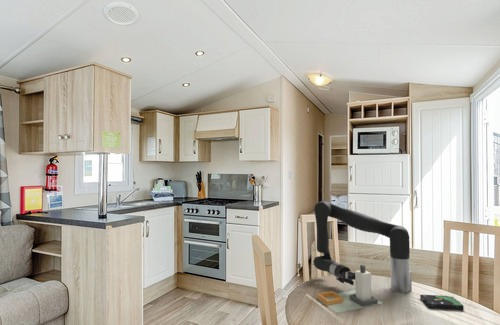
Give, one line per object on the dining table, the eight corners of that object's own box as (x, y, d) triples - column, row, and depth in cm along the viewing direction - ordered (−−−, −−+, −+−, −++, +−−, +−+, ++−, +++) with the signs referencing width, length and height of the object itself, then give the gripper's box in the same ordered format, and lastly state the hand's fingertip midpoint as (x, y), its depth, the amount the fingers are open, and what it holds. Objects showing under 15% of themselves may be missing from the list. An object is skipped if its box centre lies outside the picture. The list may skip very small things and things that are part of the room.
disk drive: (429, 310, 137) (464, 311, 135) (428, 303, 137) (464, 305, 135) (419, 300, 147) (452, 301, 145) (419, 294, 147) (452, 295, 145)
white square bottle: (364, 298, 146) (363, 263, 147) (371, 302, 142) (370, 266, 142) (355, 299, 145) (355, 264, 145) (362, 304, 140) (362, 268, 140)
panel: (358, 291, 157) (358, 285, 157) (382, 305, 141) (382, 298, 141) (315, 299, 148) (315, 293, 148) (336, 315, 132) (336, 308, 132)
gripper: (328, 265, 158) (348, 276, 143) (350, 262, 163) (372, 272, 148) (328, 280, 158) (348, 291, 143) (350, 276, 163) (372, 287, 147)
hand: (360, 281), depth 145 cm, fingers open, 8 cm apart
